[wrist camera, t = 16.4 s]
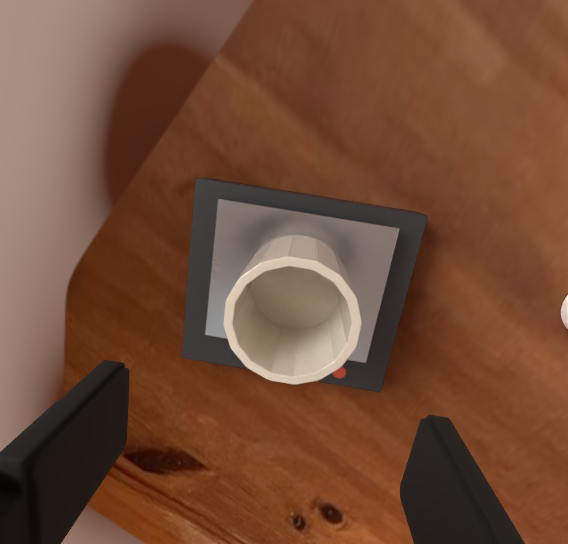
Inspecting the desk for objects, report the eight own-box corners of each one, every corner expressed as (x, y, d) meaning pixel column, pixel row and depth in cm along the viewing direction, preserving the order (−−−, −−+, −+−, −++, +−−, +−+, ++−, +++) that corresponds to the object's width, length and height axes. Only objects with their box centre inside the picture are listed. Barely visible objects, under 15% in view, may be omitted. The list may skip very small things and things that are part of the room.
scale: (191, 343, 30) (180, 358, 27) (205, 177, 26) (194, 178, 24) (374, 375, 30) (380, 393, 27) (417, 211, 26) (428, 216, 23)
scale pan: (207, 330, 26) (204, 335, 25) (221, 197, 23) (218, 198, 23) (364, 357, 26) (366, 363, 25) (396, 226, 23) (399, 228, 22)
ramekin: (240, 322, 25) (217, 371, 19) (252, 227, 23) (231, 246, 17) (336, 338, 25) (345, 394, 19) (356, 244, 23) (374, 270, 17)
